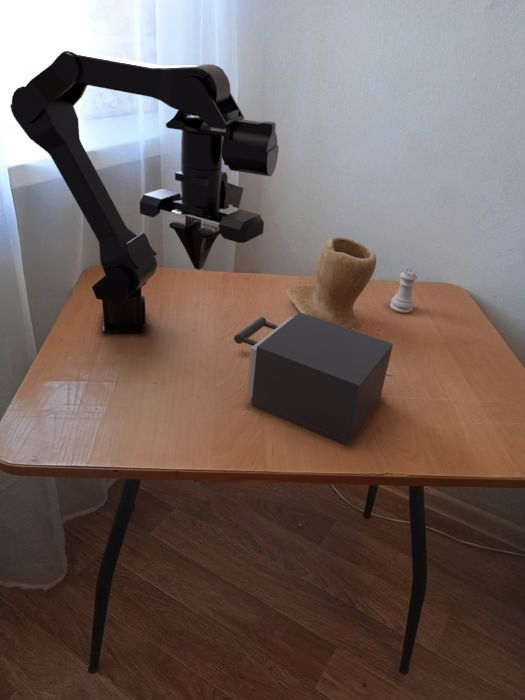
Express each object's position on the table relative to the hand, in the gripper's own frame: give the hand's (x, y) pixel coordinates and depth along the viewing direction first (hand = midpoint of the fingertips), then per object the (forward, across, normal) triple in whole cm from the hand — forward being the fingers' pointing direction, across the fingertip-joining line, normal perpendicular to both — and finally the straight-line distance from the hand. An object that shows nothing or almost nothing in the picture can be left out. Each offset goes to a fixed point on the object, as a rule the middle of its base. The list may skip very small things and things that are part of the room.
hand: (198, 268), depth 86 cm
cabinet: (+13, -24, +3) cm, 27 cm away
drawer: (+12, -20, +3) cm, 24 cm away
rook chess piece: (+13, -24, -35) cm, 44 cm away
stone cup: (+13, -14, -22) cm, 29 cm away
